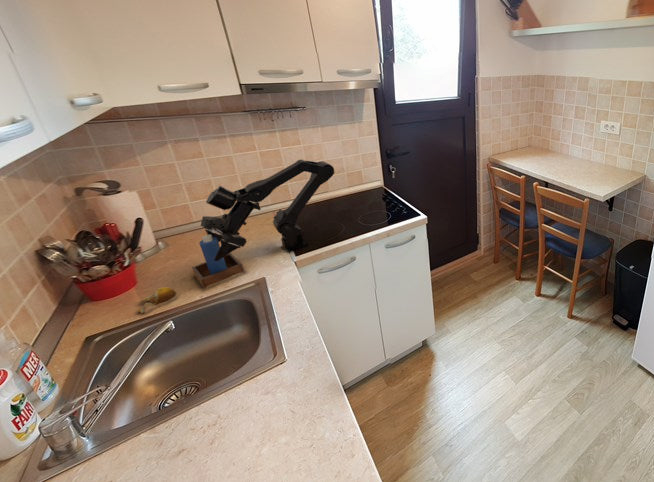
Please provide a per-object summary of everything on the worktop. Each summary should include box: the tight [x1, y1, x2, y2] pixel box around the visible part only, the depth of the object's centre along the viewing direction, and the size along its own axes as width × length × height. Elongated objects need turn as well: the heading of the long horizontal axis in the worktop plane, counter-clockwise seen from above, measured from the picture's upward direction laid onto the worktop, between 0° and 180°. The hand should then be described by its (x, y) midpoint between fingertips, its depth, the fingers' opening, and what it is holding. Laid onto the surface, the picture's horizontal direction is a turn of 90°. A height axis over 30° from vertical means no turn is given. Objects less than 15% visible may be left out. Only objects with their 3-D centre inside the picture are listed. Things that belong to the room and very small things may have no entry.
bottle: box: [199, 234, 227, 275], centre depth 113 cm, size 5×5×15 cm
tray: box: [191, 252, 245, 288], centre depth 115 cm, size 12×12×4 cm
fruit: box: [139, 287, 176, 314], centre depth 103 cm, size 8×8×4 cm
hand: (210, 256), depth 112 cm, fingers open, 9 cm apart
